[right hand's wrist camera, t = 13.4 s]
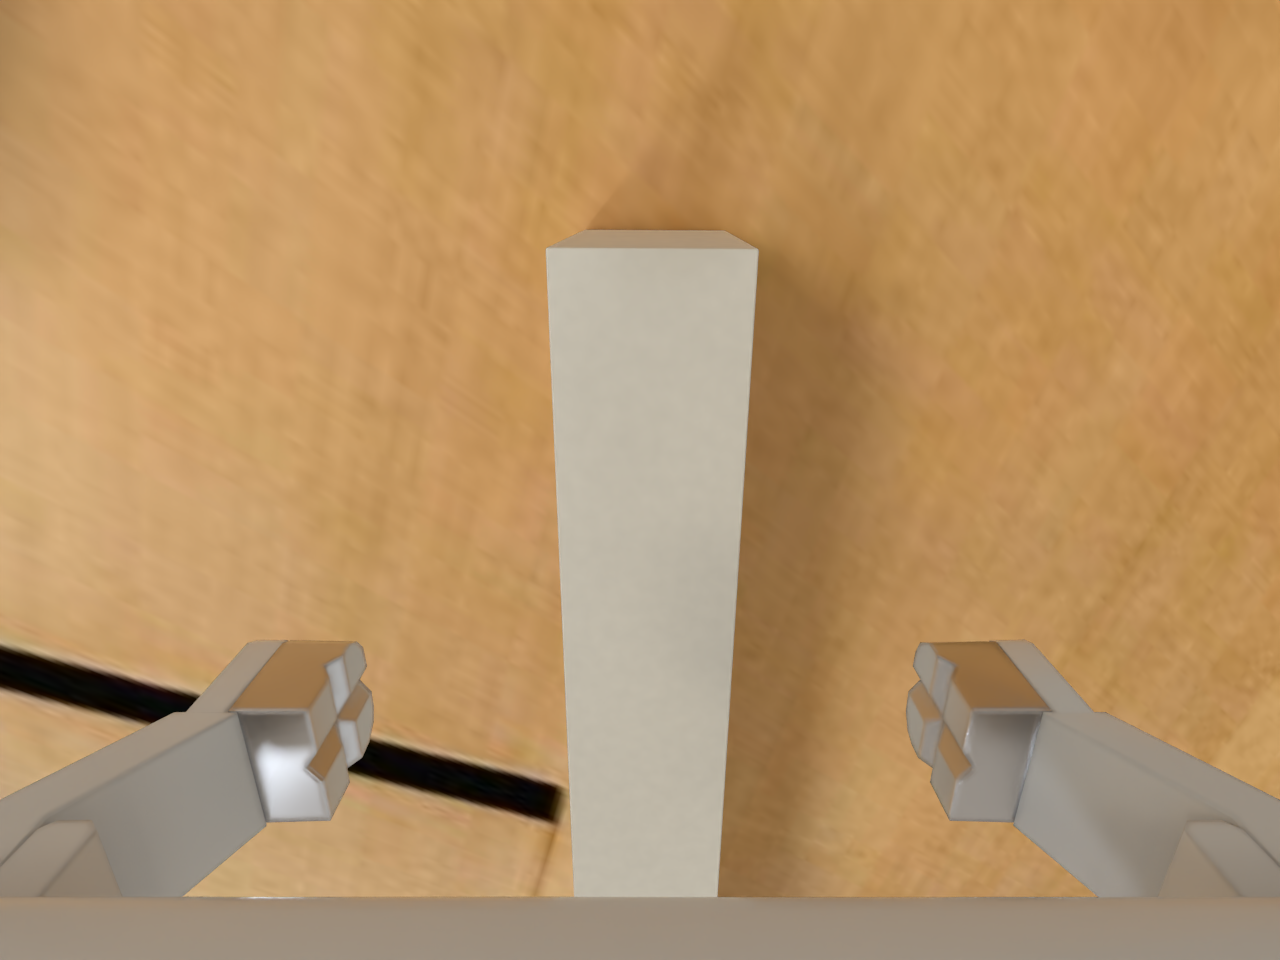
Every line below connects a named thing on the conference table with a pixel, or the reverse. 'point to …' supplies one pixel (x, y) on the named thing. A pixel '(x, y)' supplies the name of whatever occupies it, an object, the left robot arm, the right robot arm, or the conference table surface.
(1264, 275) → the conference table surface
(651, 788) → the bar
